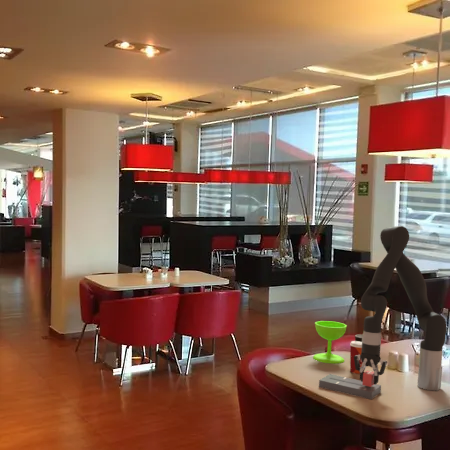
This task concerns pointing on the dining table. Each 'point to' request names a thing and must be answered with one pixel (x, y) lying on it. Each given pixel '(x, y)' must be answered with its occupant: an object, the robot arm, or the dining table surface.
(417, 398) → the dining table surface
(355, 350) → the paper cup
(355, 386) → the console
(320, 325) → the wineglass
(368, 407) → the dining table surface
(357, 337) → the coffee mug
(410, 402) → the dining table surface
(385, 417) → the dining table surface
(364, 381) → the fader
